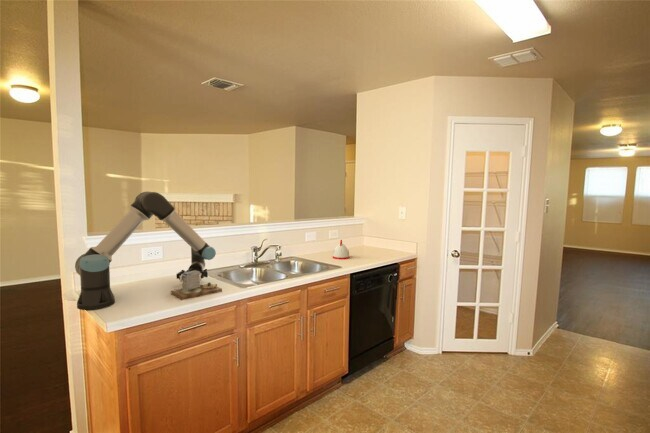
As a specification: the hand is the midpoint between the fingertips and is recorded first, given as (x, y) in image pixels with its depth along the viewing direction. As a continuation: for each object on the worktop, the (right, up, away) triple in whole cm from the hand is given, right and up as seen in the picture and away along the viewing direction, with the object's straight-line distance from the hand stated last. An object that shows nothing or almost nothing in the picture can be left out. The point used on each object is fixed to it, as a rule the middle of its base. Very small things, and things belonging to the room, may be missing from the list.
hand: (190, 279), depth 181 cm
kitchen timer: (+83, -2, +108) cm, 137 cm away
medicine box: (-1, -6, +5) cm, 8 cm away
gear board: (+1, -9, +7) cm, 11 cm away
